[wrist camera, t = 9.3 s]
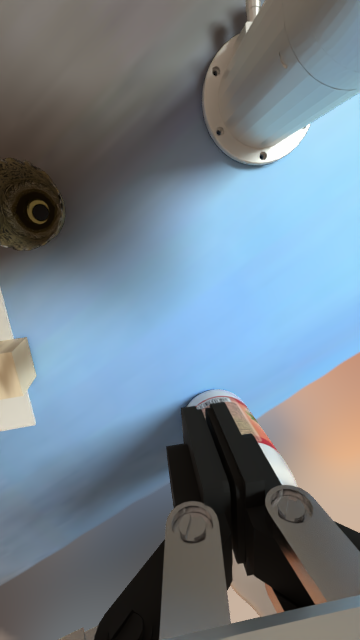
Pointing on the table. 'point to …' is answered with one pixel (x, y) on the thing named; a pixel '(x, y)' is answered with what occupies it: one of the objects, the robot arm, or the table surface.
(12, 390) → the maple block
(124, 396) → the table surface
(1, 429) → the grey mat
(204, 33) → the table surface
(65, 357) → the table surface
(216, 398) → the fruit juice
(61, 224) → the cup
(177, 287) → the table surface
